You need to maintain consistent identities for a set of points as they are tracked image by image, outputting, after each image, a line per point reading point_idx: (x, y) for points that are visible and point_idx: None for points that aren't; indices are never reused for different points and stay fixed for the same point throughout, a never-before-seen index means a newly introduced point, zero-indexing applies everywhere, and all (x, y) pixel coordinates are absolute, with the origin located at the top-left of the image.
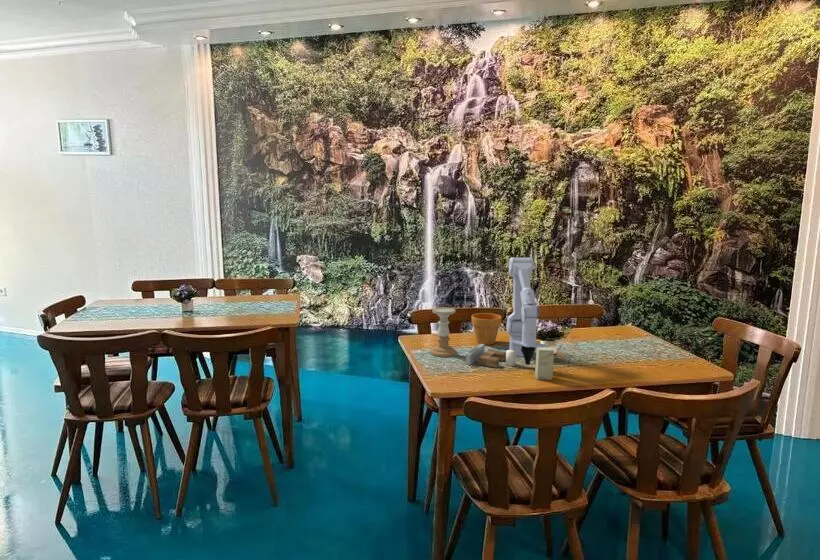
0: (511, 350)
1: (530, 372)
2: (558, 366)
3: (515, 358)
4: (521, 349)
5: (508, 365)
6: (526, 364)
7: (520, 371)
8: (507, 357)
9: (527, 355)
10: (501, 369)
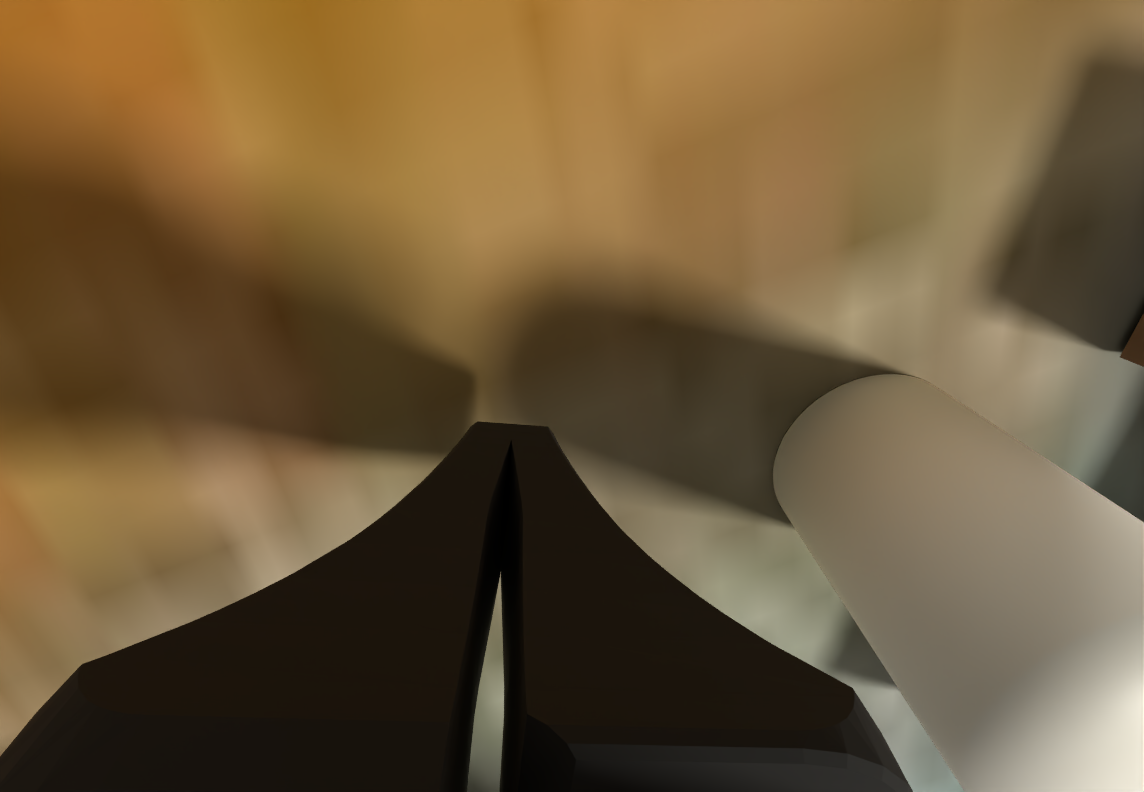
0: (1094, 789)
1: (353, 82)
2: (5, 675)
3: (841, 566)
4: (892, 761)
5: (919, 379)
6: (530, 426)
7: (619, 67)
8: (1094, 491)
9: (514, 631)
10: (1112, 47)
